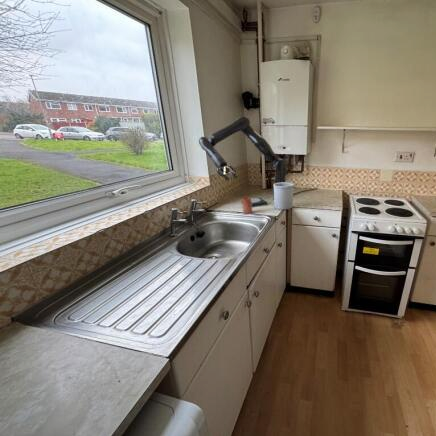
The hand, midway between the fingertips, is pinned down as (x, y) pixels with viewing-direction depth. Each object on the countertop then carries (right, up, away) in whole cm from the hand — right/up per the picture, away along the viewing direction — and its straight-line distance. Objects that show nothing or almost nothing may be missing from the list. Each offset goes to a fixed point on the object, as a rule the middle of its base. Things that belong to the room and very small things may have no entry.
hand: (232, 178), depth 161 cm
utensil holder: (+36, -19, +14) cm, 43 cm away
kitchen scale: (+12, -16, +23) cm, 30 cm away
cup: (+10, -23, +2) cm, 26 cm away
